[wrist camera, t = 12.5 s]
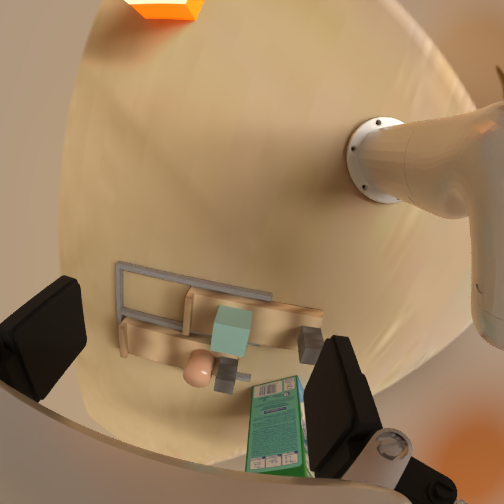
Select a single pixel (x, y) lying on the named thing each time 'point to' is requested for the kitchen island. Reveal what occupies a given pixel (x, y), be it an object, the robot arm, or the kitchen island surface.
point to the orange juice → (167, 8)
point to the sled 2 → (259, 321)
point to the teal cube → (231, 330)
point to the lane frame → (184, 280)
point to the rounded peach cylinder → (199, 368)
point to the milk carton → (278, 430)
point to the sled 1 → (174, 349)
